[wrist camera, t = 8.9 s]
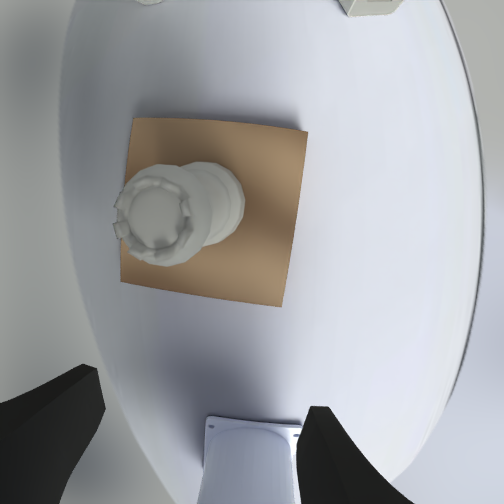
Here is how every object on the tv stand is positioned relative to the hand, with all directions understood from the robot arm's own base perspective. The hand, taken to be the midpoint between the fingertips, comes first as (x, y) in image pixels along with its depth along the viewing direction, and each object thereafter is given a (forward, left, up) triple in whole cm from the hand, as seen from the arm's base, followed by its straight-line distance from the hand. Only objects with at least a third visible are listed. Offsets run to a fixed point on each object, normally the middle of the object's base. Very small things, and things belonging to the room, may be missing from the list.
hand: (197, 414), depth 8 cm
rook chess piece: (+6, +2, -9) cm, 11 cm away
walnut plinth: (+6, +2, -10) cm, 12 cm away
